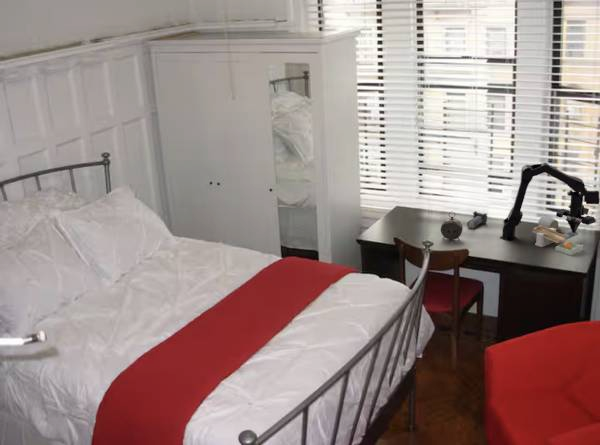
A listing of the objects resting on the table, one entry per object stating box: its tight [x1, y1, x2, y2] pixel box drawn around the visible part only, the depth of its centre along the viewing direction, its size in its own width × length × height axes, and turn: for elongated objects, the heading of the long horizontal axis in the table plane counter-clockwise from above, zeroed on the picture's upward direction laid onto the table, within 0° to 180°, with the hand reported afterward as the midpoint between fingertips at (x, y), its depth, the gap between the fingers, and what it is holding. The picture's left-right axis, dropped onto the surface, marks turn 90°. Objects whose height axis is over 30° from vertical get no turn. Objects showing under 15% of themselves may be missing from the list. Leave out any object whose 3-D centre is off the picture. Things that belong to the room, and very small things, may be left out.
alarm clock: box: [440, 211, 464, 242], centre depth 365 cm, size 11×5×16 cm, turn 71°
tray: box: [554, 240, 584, 257], centre depth 347 cm, size 10×9×3 cm
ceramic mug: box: [537, 215, 560, 231], centre depth 374 cm, size 11×8×8 cm
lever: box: [531, 225, 579, 244], centre depth 359 cm, size 18×15×5 cm
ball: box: [563, 241, 572, 250], centre depth 348 cm, size 4×4×4 cm
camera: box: [466, 211, 488, 230], centre depth 385 cm, size 9×8×12 cm
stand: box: [534, 228, 557, 248], centre depth 357 cm, size 12×4×6 cm, turn 126°
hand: (574, 232), depth 358 cm, fingers closed, pressing on lever
